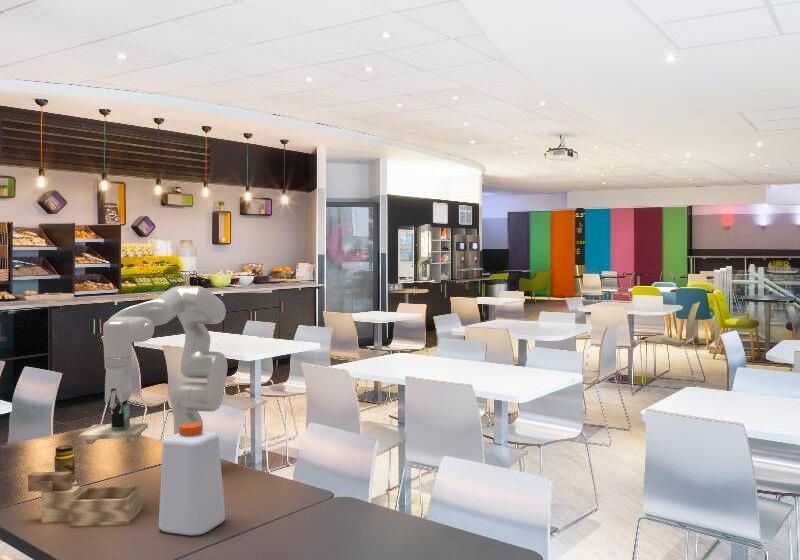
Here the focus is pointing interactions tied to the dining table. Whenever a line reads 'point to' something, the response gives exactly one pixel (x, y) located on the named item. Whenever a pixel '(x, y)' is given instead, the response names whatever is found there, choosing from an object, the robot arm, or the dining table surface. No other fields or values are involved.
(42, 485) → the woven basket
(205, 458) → the plastic bottle
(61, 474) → the brown wooden bar
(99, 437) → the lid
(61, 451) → the condiment
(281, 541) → the dining table surface
